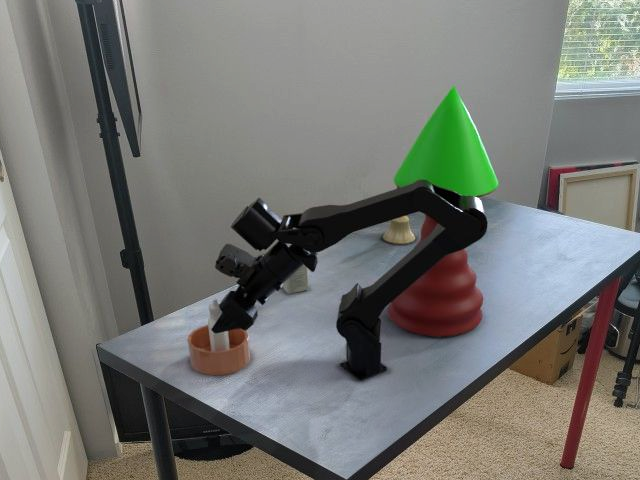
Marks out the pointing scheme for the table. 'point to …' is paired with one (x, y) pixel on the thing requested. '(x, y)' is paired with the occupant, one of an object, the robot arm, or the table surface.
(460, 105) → the table lamp
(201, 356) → the round bowl
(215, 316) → the eye dropper bottle
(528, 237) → the table surface
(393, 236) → the hand bell
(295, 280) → the beige carton box
